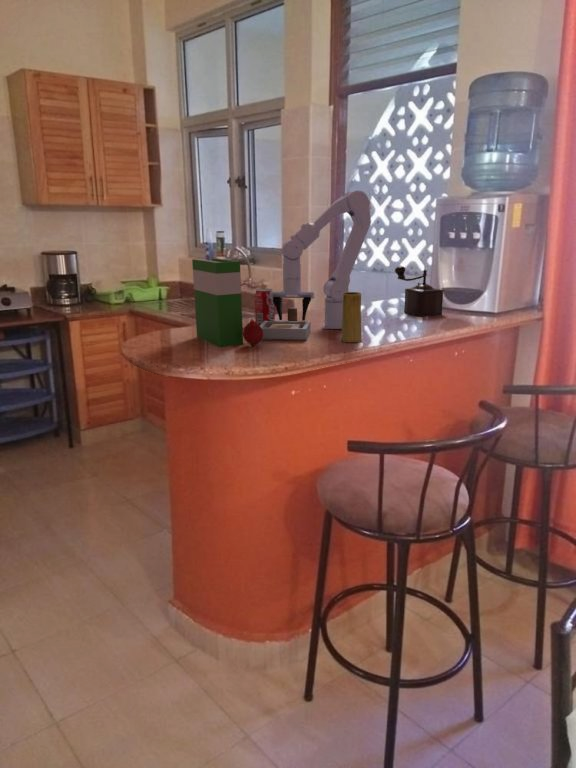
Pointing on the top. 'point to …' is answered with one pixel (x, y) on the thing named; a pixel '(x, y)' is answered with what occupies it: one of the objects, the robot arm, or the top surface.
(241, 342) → the green cereal box
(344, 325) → the vase
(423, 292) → the manual coffee grinder
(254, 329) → the onion
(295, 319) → the peg
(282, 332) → the box
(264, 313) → the soda can
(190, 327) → the top surface
